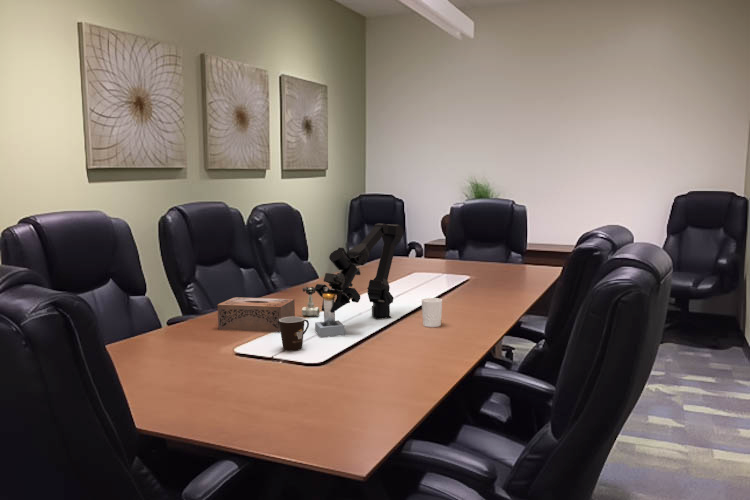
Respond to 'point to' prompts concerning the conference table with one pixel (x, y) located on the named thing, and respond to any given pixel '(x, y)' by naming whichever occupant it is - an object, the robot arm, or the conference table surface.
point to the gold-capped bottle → (329, 309)
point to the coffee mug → (292, 332)
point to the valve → (310, 304)
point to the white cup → (431, 312)
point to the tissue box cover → (254, 314)
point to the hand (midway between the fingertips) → (326, 311)
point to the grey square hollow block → (329, 329)
